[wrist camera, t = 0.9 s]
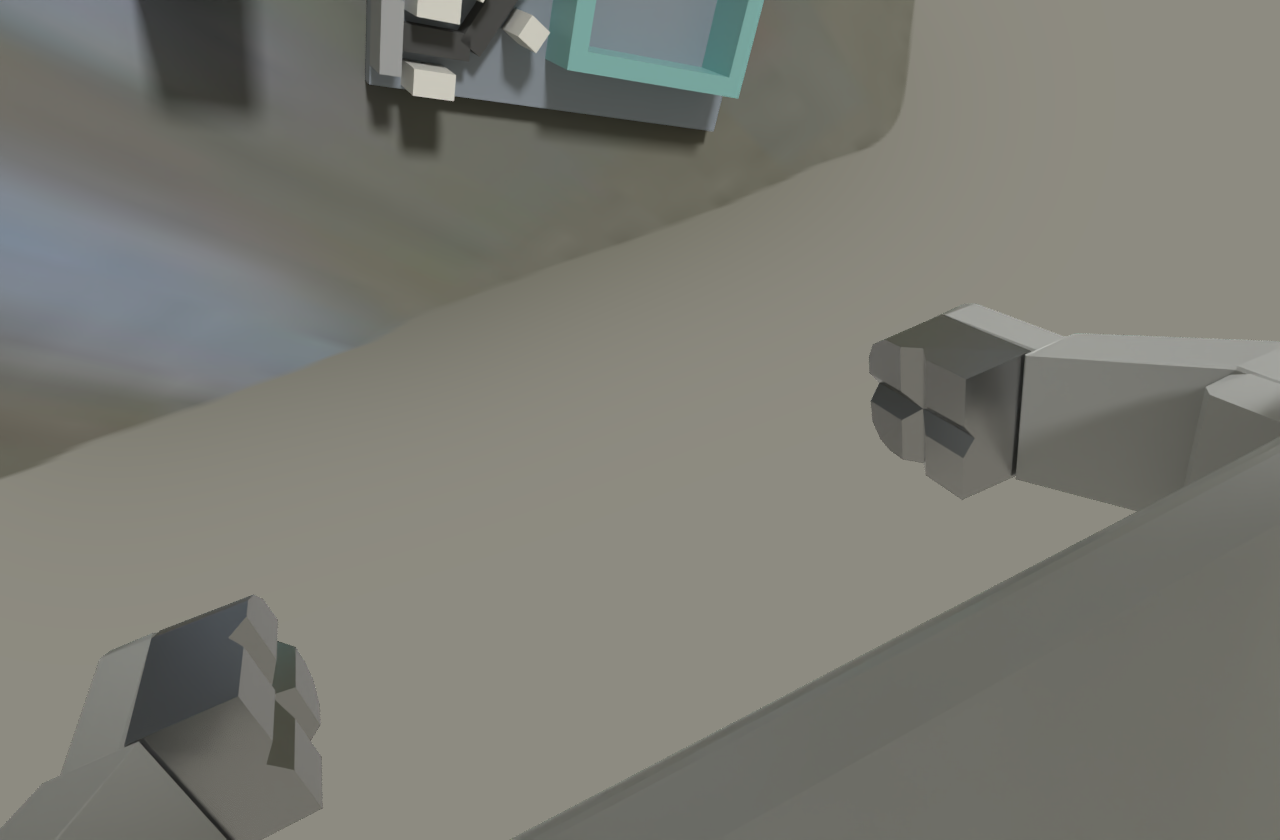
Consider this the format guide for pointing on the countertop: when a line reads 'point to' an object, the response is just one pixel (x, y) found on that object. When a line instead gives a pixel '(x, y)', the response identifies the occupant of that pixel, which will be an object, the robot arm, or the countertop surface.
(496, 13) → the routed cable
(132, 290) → the countertop surface
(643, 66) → the end holder
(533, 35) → the board
